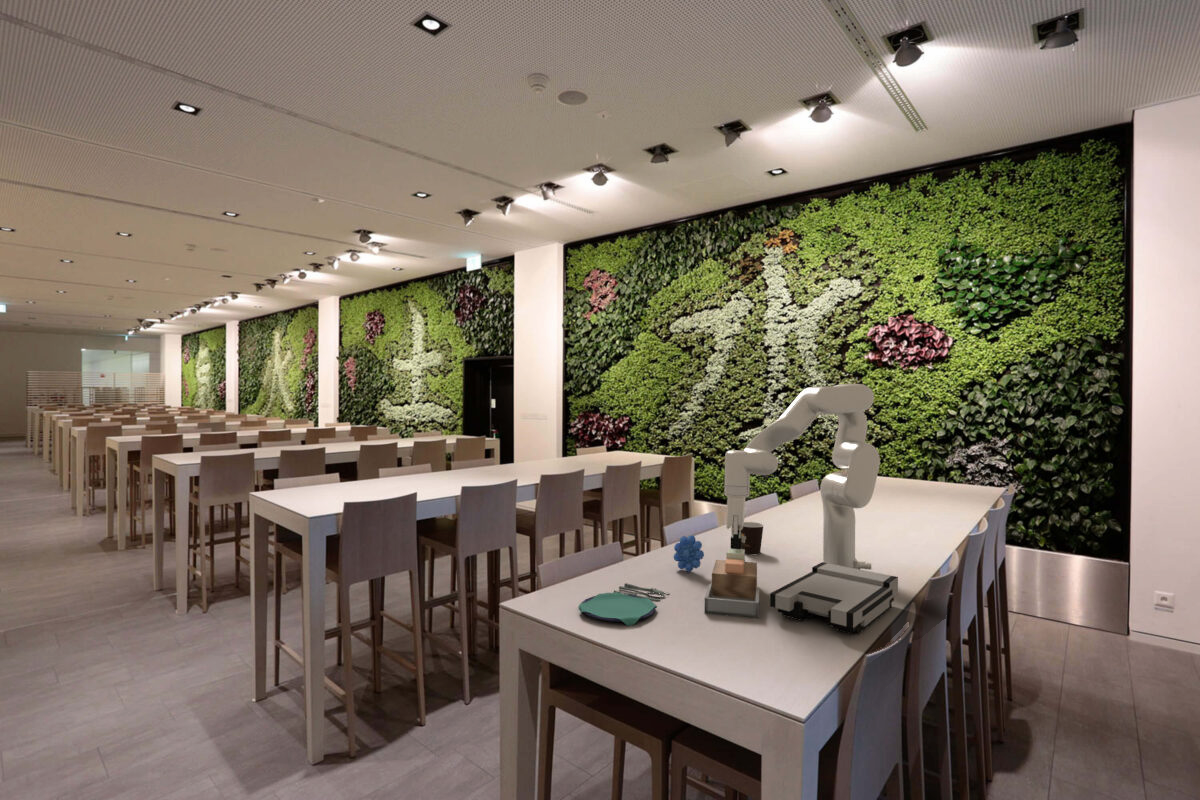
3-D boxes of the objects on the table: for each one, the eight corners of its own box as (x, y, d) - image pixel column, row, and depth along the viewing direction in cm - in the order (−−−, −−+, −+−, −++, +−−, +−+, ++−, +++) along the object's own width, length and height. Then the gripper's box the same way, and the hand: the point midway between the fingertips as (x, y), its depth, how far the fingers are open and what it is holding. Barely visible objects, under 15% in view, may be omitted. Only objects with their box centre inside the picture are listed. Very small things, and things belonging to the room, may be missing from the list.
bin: (759, 602, 166) (759, 587, 166) (758, 618, 154) (758, 602, 154) (709, 597, 170) (709, 583, 170) (704, 613, 158) (704, 598, 158)
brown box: (757, 586, 180) (757, 562, 180) (756, 601, 167) (756, 576, 166) (716, 582, 183) (716, 559, 183) (711, 598, 170) (711, 573, 170)
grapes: (711, 572, 194) (711, 535, 193) (698, 577, 189) (698, 538, 189) (682, 565, 202) (682, 529, 202) (669, 569, 197) (669, 532, 197)
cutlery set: (565, 617, 156) (565, 608, 156) (620, 586, 182) (620, 579, 182) (634, 633, 146) (634, 623, 146) (682, 598, 172) (682, 590, 172)
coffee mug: (766, 555, 214) (766, 527, 213) (741, 555, 214) (741, 527, 213) (758, 547, 225) (758, 520, 225) (734, 547, 225) (734, 520, 225)
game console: (770, 620, 154) (770, 588, 154) (822, 590, 177) (822, 562, 177) (853, 643, 140) (853, 608, 140) (897, 607, 163) (898, 577, 163)
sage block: (744, 563, 180) (744, 549, 180) (744, 567, 175) (744, 553, 175) (727, 561, 181) (727, 548, 181) (726, 566, 176) (726, 552, 176)
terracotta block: (744, 568, 174) (744, 559, 174) (743, 573, 169) (743, 564, 169) (726, 567, 176) (726, 558, 175) (725, 572, 171) (725, 563, 171)
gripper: (726, 486, 194) (725, 543, 194) (722, 493, 180) (721, 555, 180) (750, 487, 192) (749, 545, 192) (748, 495, 178) (747, 557, 178)
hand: (735, 550), depth 186 cm, fingers closed
